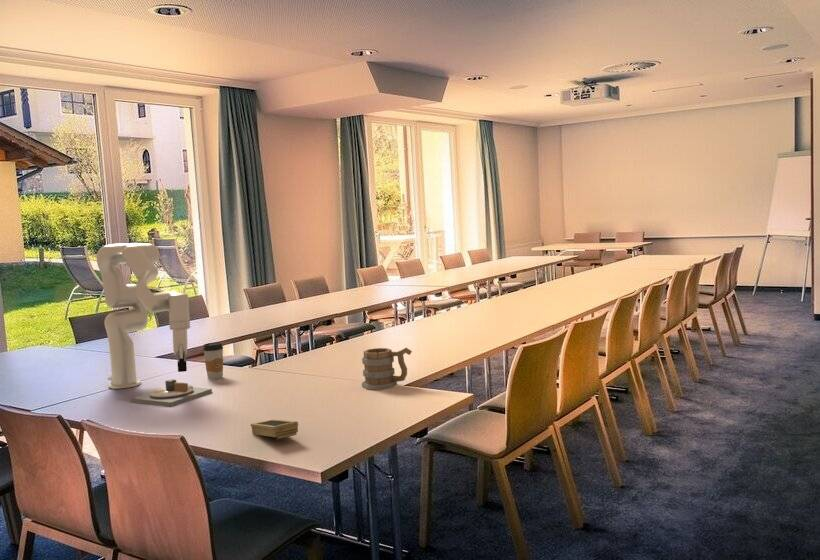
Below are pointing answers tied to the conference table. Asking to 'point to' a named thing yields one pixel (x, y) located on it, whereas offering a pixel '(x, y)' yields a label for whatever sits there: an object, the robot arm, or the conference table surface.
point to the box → (275, 428)
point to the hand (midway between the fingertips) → (182, 371)
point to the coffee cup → (214, 360)
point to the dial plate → (171, 398)
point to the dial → (171, 390)
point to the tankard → (382, 368)
